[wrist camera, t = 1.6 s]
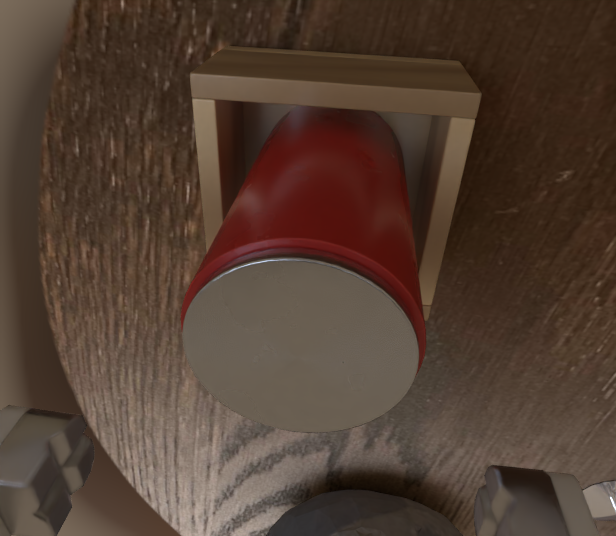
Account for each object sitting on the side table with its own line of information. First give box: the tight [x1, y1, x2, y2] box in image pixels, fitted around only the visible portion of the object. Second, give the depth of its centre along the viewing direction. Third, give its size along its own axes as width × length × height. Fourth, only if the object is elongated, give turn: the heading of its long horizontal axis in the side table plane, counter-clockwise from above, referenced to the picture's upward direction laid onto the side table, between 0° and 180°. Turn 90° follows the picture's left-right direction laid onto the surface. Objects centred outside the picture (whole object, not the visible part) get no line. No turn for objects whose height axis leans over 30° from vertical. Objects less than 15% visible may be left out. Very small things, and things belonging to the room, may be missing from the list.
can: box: [181, 106, 426, 433], centre depth 17 cm, size 6×6×12 cm
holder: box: [190, 46, 482, 321], centre depth 20 cm, size 9×9×5 cm
